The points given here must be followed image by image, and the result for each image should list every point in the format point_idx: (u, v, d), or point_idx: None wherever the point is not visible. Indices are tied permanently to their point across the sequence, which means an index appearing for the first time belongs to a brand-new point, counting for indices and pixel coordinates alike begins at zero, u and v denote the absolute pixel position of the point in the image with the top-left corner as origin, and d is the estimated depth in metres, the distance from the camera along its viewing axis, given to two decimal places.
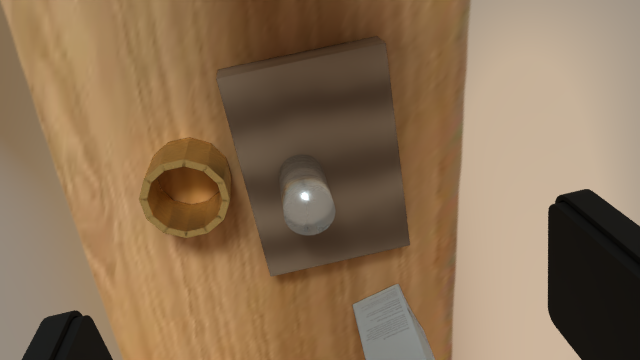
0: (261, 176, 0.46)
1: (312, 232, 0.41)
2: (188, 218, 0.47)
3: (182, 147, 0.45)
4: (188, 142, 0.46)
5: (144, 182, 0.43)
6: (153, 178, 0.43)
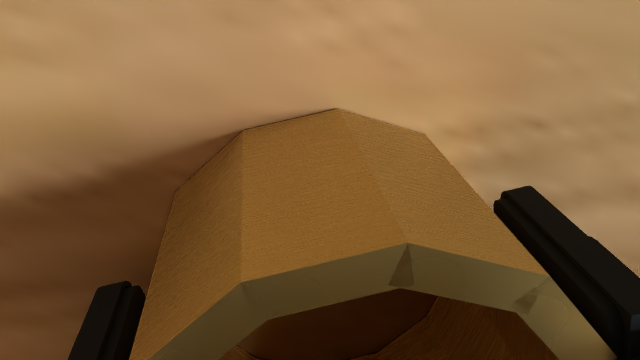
0: None
1: None
2: None
3: None
4: None
5: (526, 278, 0.06)
6: (540, 325, 0.07)
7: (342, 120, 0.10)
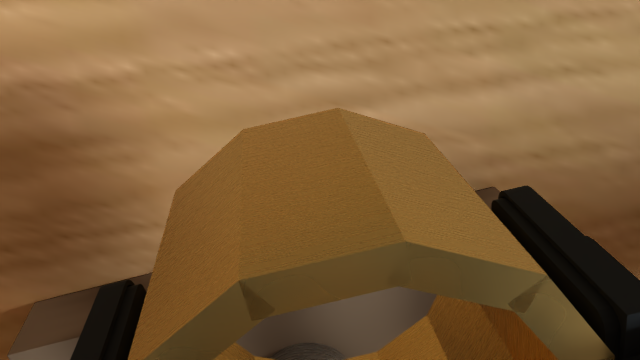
0: (303, 312, 0.20)
1: None
2: None
3: None
4: None
5: (524, 277, 0.06)
6: (538, 323, 0.07)
7: (342, 119, 0.10)
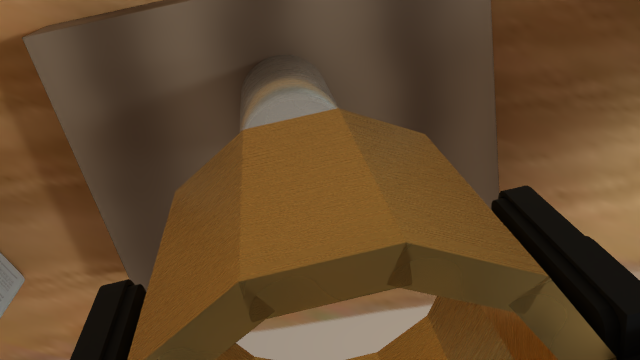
0: (283, 18, 0.23)
1: None
2: None
3: None
4: None
5: (525, 278, 0.06)
6: (539, 325, 0.07)
7: (342, 119, 0.10)
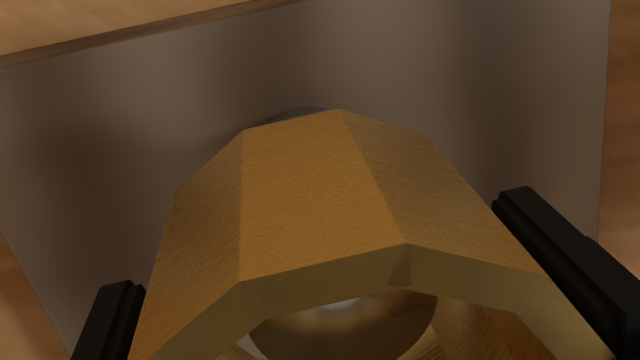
0: (309, 55, 0.15)
1: None
2: None
3: None
4: None
5: (525, 279, 0.06)
6: (539, 325, 0.07)
7: (342, 120, 0.10)
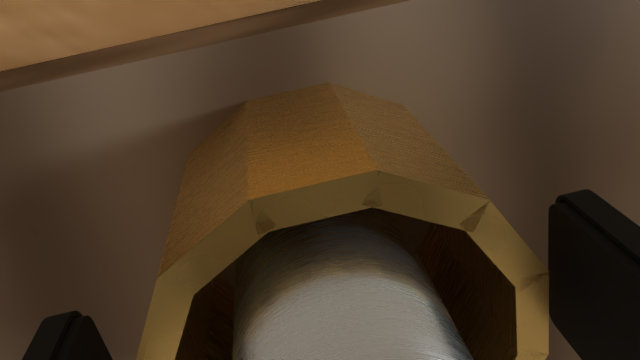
0: None
1: None
2: None
3: None
4: None
5: (471, 202, 0.08)
6: (485, 241, 0.08)
7: (331, 90, 0.11)
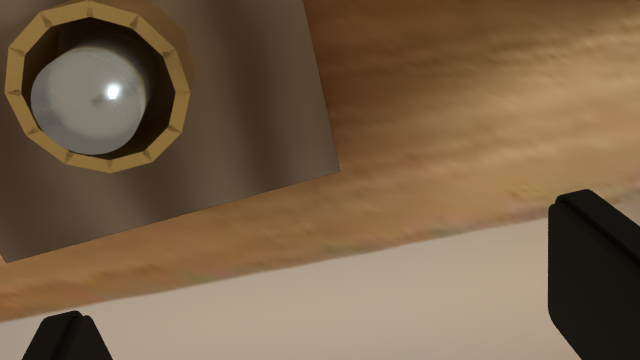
0: None
1: (40, 115, 0.20)
2: None
3: (190, 69, 0.25)
4: None
5: (131, 15, 0.21)
6: (142, 33, 0.21)
7: None
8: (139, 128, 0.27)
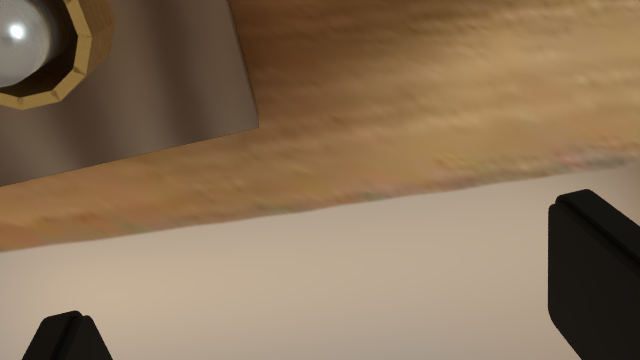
0: None
1: None
2: None
3: (103, 19, 0.27)
4: (110, 24, 0.28)
5: None
6: None
7: None
8: (61, 75, 0.29)
